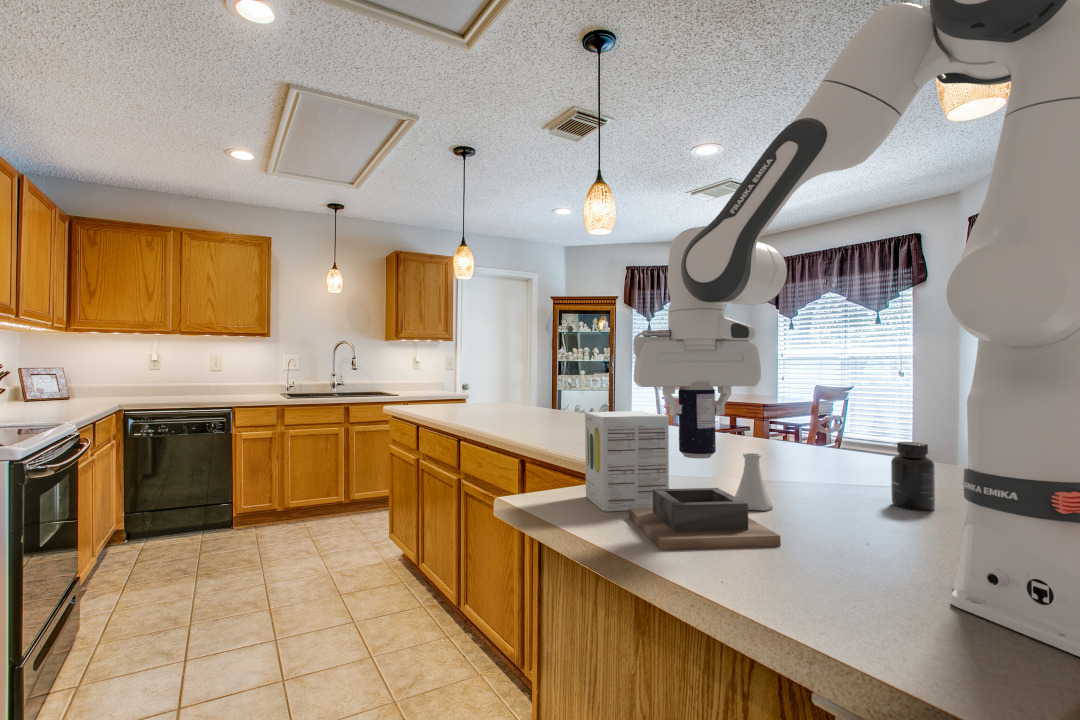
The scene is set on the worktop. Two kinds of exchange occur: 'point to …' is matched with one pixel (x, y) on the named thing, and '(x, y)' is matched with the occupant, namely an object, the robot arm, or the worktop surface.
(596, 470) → the supplement box
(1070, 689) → the worktop surface
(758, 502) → the flask
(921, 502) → the supplement bottle
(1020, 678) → the worktop surface
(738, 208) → the robot arm
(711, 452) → the beverage can
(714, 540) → the square holder on base
